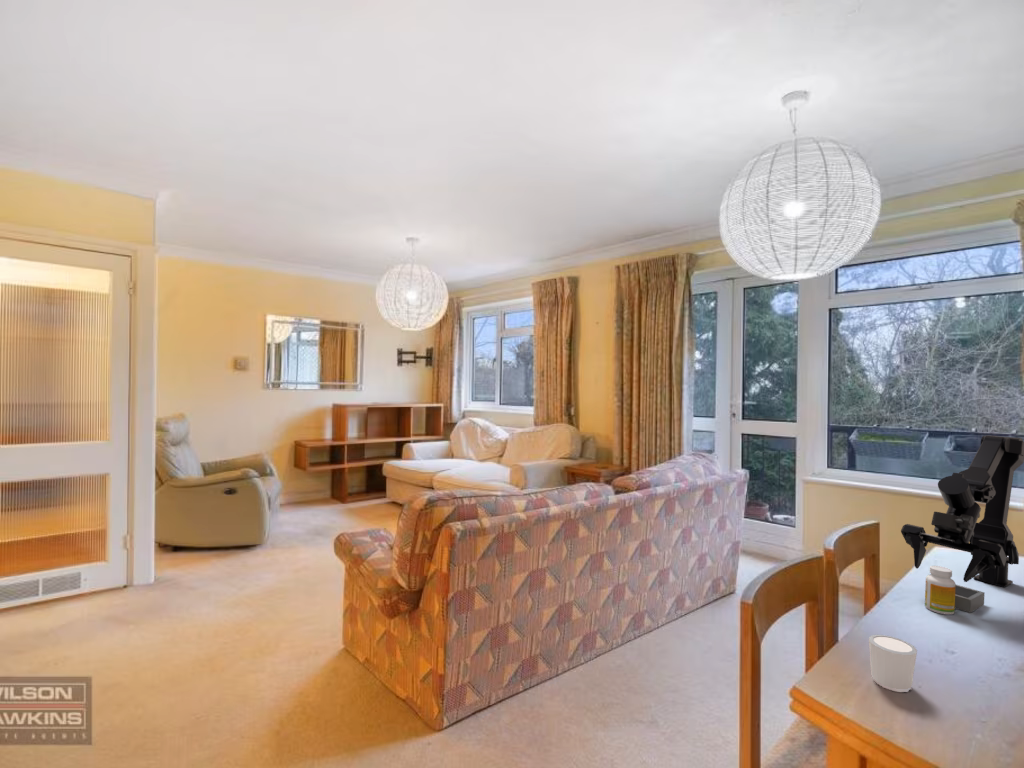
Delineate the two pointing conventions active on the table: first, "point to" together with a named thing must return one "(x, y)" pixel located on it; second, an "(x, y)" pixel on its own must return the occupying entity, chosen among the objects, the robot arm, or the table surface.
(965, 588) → the frame
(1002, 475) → the robot arm
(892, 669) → the white cylinder
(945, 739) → the table surface
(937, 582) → the supplement bottle
